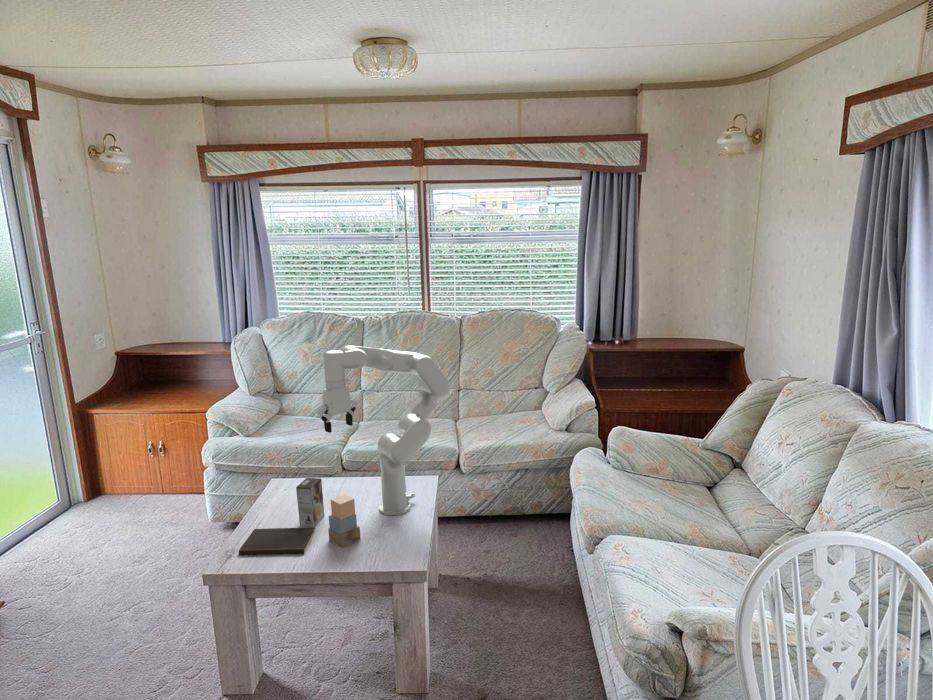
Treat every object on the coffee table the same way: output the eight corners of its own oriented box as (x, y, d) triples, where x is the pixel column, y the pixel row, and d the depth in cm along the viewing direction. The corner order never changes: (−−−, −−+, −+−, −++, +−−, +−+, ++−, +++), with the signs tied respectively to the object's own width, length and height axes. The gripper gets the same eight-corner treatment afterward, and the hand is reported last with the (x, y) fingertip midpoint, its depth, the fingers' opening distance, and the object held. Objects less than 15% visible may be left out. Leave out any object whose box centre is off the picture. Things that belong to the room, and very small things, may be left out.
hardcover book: (255, 534, 224) (254, 528, 223) (315, 532, 223) (315, 527, 223) (238, 557, 208) (238, 551, 208) (304, 555, 208) (303, 549, 207)
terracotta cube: (345, 509, 219) (344, 493, 218) (355, 514, 215) (354, 498, 214) (331, 514, 215) (330, 499, 214) (341, 520, 211) (340, 504, 210)
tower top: (345, 521, 220) (344, 508, 219) (357, 527, 216) (356, 514, 215) (329, 528, 215) (328, 515, 214) (341, 534, 211) (340, 521, 210)
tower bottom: (347, 532, 222) (346, 520, 221) (360, 539, 217) (359, 526, 216) (329, 541, 216) (328, 528, 216) (342, 548, 211) (341, 535, 210)
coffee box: (309, 514, 237) (306, 477, 234) (324, 516, 236) (321, 478, 232) (299, 525, 228) (295, 486, 225) (314, 527, 227) (311, 487, 224)
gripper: (348, 377, 227) (351, 420, 231) (310, 387, 214) (313, 432, 218) (360, 380, 222) (363, 424, 226) (322, 390, 210) (326, 436, 213)
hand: (339, 428), depth 222 cm, fingers open, 9 cm apart
